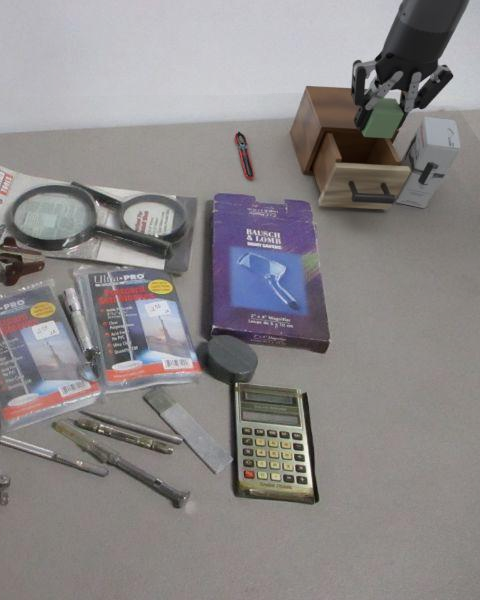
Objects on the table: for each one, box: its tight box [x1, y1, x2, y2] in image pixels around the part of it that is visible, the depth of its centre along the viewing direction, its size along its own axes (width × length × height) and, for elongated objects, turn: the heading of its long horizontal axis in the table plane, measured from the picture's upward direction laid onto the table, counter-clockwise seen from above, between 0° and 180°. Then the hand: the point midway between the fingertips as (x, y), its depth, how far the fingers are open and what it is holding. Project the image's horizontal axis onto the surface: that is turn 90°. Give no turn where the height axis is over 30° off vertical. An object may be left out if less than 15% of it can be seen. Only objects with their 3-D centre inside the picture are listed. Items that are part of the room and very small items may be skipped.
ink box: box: [395, 115, 461, 209], centre depth 97 cm, size 8×5×12 cm, turn 162°
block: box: [362, 97, 404, 138], centre depth 90 cm, size 4×4×4 cm
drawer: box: [311, 131, 411, 210], centre depth 96 cm, size 16×11×8 cm
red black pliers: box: [234, 131, 255, 180], centre depth 106 cm, size 2×14×1 cm, turn 179°
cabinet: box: [289, 85, 400, 176], centre depth 104 cm, size 13×13×10 cm
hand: (375, 128), depth 91 cm, fingers closed on block, 4 cm apart
